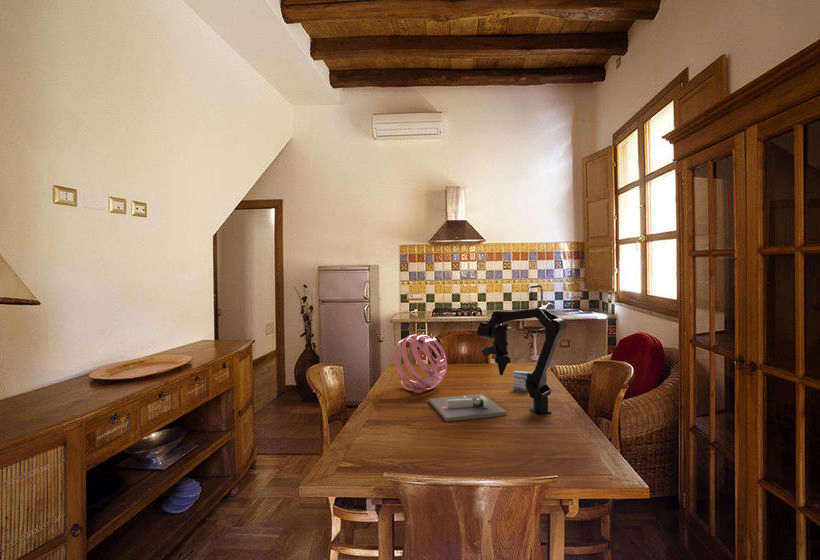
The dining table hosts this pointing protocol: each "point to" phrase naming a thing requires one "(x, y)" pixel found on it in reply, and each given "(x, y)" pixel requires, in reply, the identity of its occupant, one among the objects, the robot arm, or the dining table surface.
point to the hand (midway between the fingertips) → (501, 375)
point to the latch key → (468, 402)
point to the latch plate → (465, 409)
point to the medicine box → (519, 380)
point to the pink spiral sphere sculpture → (421, 362)
